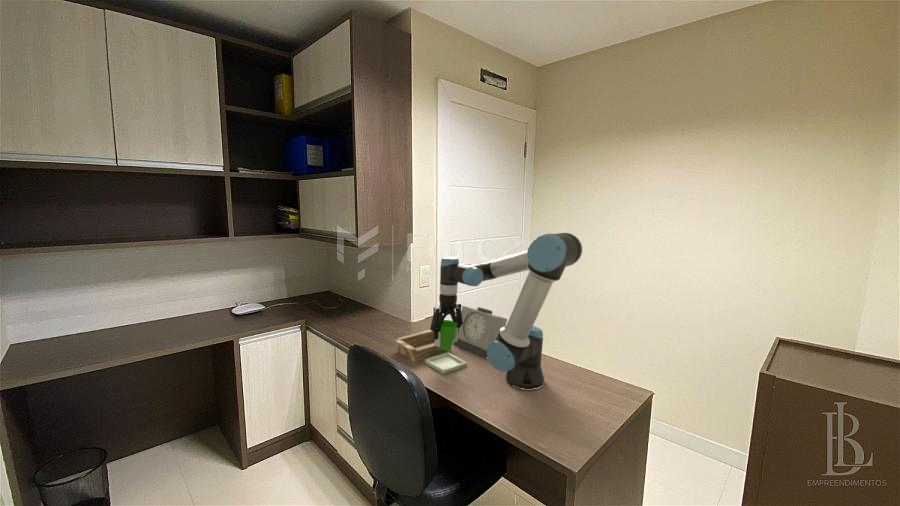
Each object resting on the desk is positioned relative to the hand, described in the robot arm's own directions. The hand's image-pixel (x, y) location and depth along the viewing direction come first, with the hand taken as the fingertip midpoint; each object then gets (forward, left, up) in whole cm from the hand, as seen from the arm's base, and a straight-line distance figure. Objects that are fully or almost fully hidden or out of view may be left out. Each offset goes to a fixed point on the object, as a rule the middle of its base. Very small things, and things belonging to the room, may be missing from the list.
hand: (446, 343), depth 159 cm
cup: (0, 0, -2) cm, 2 cm away
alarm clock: (+5, -25, -10) cm, 28 cm away
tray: (0, 0, -10) cm, 10 cm away
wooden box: (+17, -1, -10) cm, 19 cm away
